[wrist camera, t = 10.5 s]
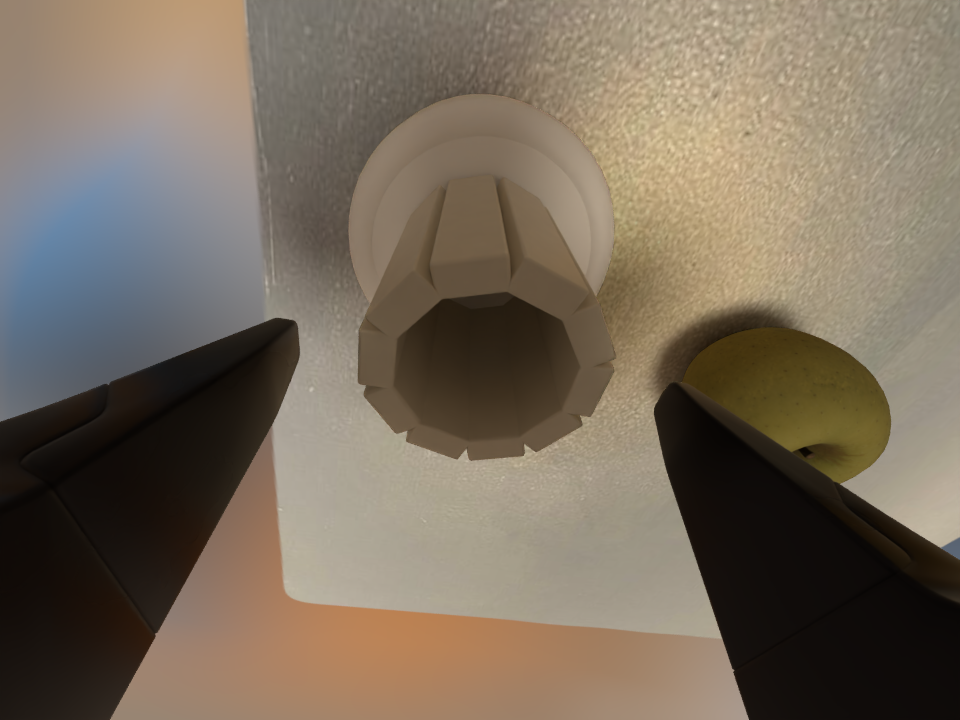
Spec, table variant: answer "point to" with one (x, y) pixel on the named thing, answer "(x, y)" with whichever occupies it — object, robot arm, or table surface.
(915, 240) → the table surface
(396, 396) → the fluted vase
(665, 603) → the table surface
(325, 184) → the table surface
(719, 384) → the apple
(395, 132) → the thick white disc
